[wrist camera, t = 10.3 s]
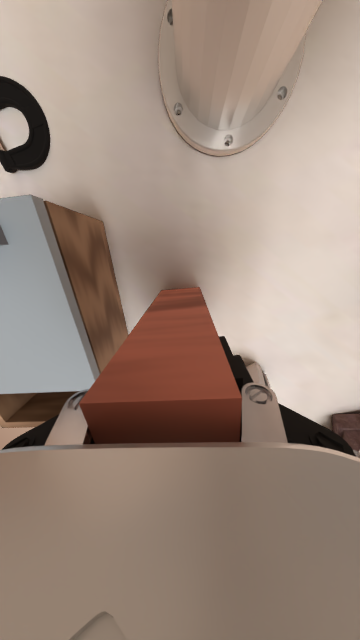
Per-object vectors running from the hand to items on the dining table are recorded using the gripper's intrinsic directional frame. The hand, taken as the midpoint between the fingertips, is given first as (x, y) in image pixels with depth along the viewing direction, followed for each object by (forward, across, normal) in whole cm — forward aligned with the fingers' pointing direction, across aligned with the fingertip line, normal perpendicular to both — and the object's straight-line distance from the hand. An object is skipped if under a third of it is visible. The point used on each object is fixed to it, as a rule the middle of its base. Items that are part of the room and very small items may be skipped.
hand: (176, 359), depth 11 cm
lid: (+5, +17, -3) cm, 18 cm away
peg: (+12, 0, 0) cm, 12 cm away
